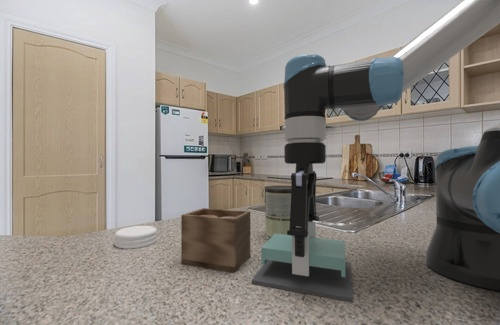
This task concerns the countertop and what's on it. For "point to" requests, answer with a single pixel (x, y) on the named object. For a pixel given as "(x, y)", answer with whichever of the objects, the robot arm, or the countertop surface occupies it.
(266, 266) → the mat
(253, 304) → the countertop surface
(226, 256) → the box
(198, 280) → the countertop surface
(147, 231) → the coaster
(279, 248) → the lid
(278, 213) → the coffee can
